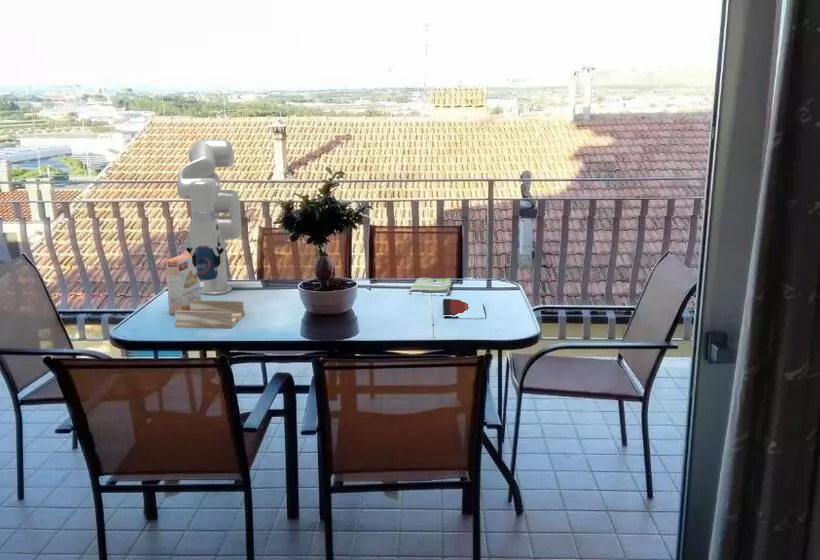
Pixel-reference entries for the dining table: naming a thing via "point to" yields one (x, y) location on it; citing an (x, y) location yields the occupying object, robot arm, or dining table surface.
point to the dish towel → (432, 285)
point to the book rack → (210, 314)
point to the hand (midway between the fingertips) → (206, 265)
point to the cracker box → (182, 283)
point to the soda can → (205, 264)
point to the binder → (454, 307)
